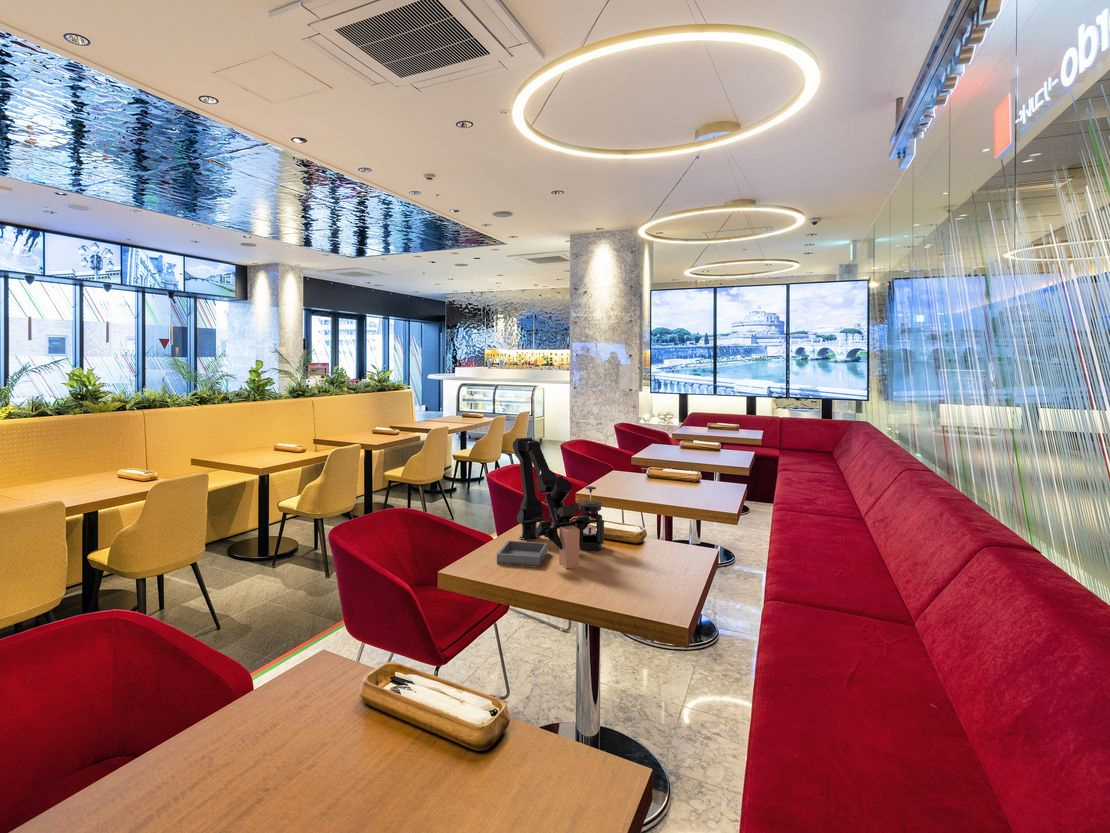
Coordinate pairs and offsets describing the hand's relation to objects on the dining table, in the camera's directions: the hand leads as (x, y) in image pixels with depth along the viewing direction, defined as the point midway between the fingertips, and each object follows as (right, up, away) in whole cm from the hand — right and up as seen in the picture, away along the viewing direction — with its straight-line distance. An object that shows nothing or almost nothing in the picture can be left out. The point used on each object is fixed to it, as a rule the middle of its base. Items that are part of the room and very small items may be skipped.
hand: (571, 547), depth 189 cm
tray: (-17, -6, +8) cm, 20 cm away
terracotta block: (-1, -6, +2) cm, 7 cm away
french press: (+8, -5, +20) cm, 22 cm away
